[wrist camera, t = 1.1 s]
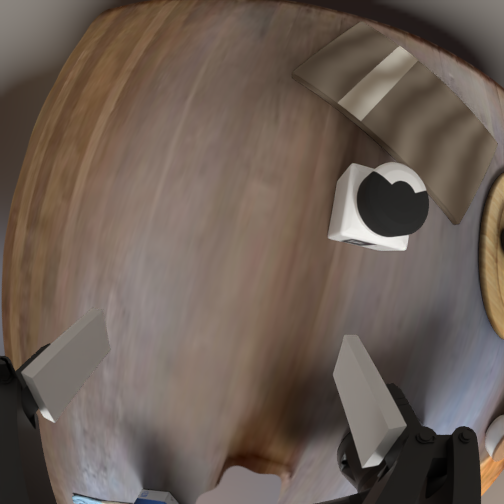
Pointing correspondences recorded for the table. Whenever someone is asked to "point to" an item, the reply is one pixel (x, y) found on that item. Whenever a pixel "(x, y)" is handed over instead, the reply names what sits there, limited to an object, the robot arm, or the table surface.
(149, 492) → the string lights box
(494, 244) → the wooden plate with food
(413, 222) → the container
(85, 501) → the rubber gloves
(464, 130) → the board
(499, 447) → the lidded jar
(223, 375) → the table surface
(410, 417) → the robot arm
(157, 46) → the table surface
